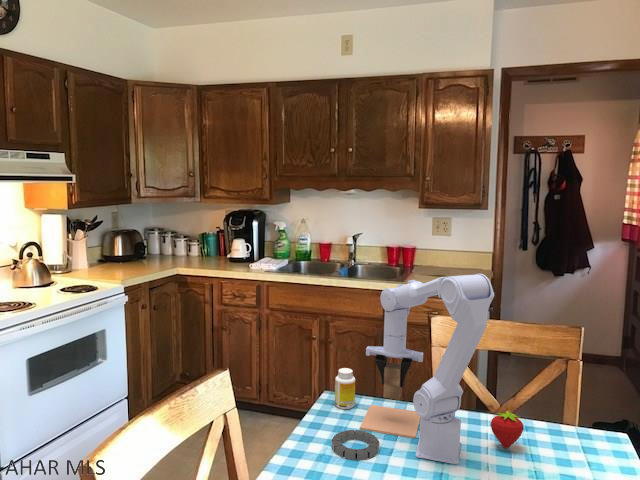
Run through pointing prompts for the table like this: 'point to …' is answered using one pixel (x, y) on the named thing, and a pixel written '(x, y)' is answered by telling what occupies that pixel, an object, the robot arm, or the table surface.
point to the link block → (392, 381)
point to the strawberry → (506, 428)
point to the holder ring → (355, 453)
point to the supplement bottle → (345, 389)
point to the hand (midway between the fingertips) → (393, 384)
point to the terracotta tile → (391, 421)
